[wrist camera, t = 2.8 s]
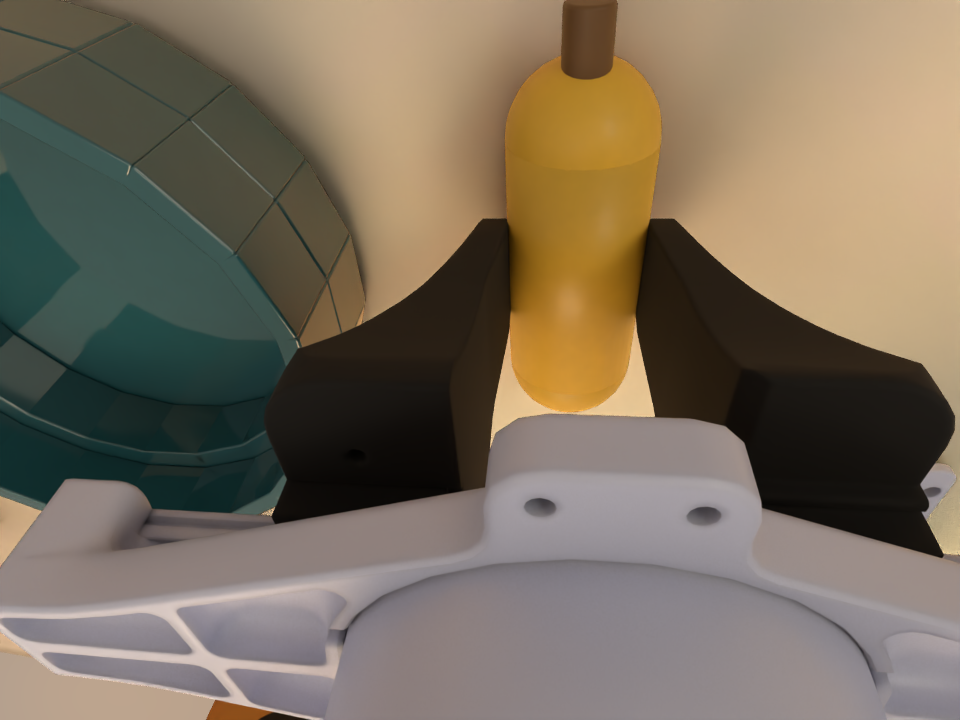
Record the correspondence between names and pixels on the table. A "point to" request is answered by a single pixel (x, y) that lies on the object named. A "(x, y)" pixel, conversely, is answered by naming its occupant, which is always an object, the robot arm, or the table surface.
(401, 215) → the table surface
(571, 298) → the amber tube
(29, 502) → the teal bowl
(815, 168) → the table surface
